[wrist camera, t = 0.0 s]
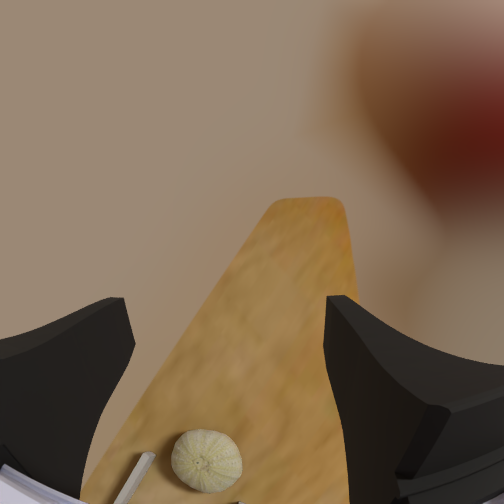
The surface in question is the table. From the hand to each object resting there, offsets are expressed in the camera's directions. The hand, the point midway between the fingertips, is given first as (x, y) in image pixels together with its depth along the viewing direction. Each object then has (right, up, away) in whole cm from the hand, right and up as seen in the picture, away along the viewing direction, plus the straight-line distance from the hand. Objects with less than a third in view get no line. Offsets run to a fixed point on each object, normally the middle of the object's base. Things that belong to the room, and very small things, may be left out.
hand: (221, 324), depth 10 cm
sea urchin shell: (-5, -25, +24) cm, 35 cm away
